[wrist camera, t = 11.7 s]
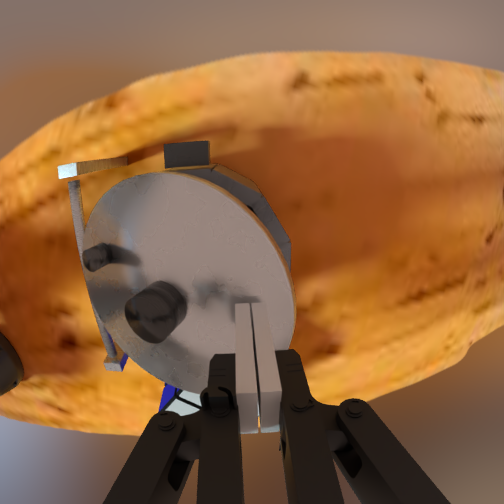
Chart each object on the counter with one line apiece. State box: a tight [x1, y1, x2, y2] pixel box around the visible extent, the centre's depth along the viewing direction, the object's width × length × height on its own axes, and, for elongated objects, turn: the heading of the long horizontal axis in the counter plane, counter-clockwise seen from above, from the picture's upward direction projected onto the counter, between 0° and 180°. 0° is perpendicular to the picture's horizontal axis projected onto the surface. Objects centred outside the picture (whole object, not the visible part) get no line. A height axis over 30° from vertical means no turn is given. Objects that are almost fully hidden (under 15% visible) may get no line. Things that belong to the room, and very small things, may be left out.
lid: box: [68, 171, 297, 394], centre depth 18 cm, size 18×17×4 cm
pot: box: [58, 141, 291, 372], centre depth 27 cm, size 18×20×12 cm
